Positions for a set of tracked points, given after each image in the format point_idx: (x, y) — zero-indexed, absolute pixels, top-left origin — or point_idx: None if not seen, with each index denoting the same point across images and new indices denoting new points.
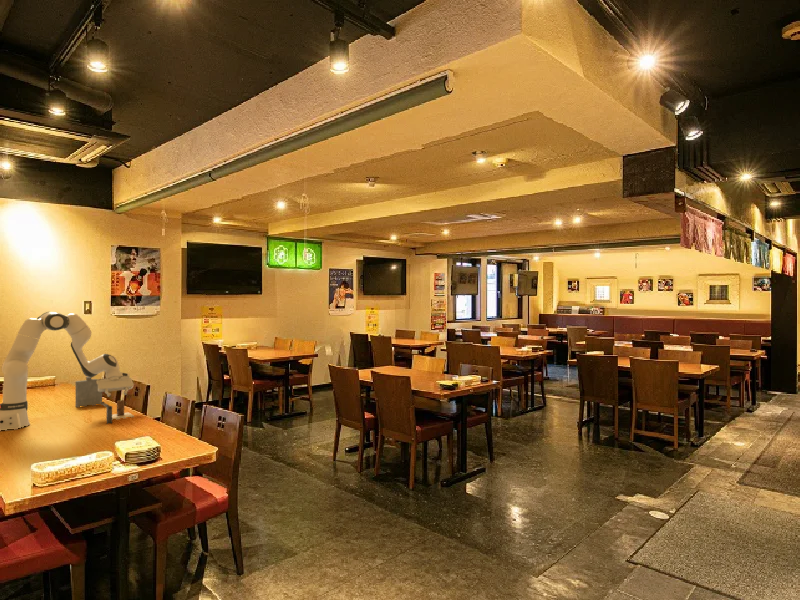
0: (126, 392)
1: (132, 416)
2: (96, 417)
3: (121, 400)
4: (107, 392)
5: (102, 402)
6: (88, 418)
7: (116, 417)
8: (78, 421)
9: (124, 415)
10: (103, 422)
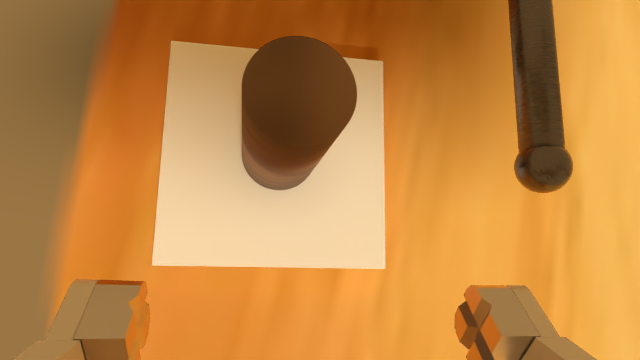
0: (85, 291)
1: (187, 47)
2: None
3: (276, 123)
4: (572, 349)
5: (562, 139)
6: None
7: None
8: (623, 237)
9: None
10: (459, 30)
